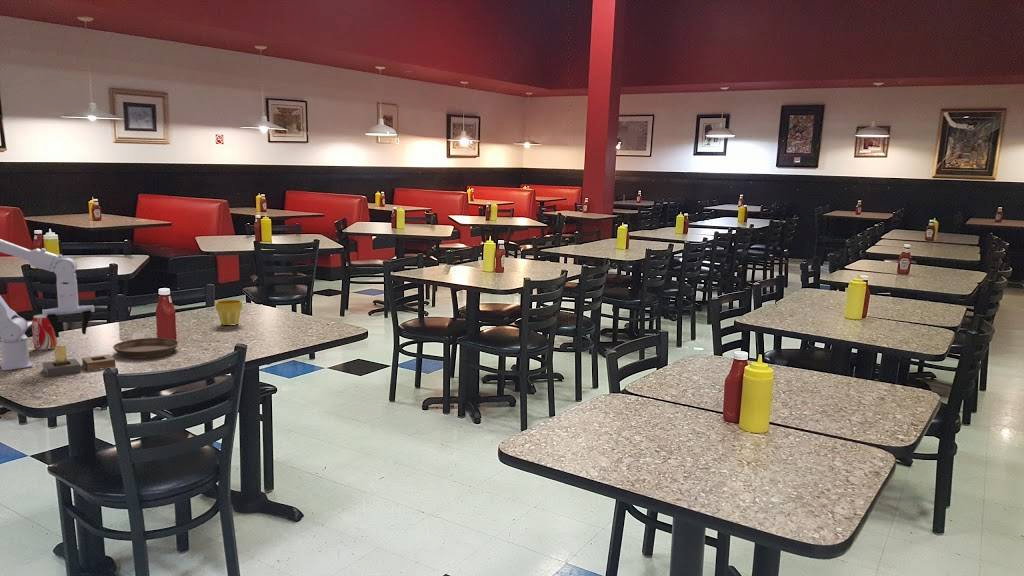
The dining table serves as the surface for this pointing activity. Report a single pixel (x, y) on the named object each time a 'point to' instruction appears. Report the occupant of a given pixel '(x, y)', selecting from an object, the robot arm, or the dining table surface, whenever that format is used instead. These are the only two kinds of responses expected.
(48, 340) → the soda can
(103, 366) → the block
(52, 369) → the grey slotted block
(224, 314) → the plant pot
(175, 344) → the plant saucer
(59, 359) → the brass pin
